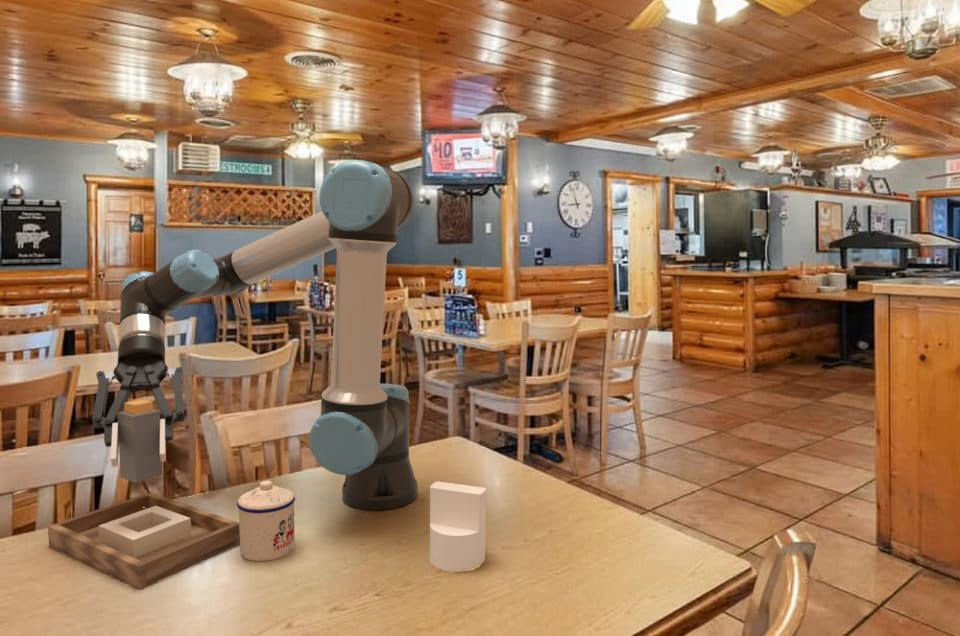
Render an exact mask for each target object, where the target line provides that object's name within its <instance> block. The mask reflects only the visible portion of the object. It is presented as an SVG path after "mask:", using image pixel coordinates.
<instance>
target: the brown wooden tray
mask: <svg viewBox="0 0 960 636" xmlns="http://www.w3.org/2000/svg"><path fill="white" fill-rule="evenodd" d="M153 506H158V507H161V508H164V509H166V510H169V511H172V512H175V513H178V514H180V515H183V516H186V517H189V518H191V535H190V536H188V537H185V538H183V539H180V540H178V541H175V542H173V543H171V544H168V545H166V546H163V547H161V548H158V549H156V550H153V551H151V552H149V553H146V554H144V555H141V556H139V557H136V558H133V557H130V556H128V555H126V554H124V553H121V552H119V551H117V550H115V549H112V548H110V547H108V546H106V545H103V544H101V543H100V542H99V525H102V524H105V523H108V522H110V521H113V520H116V519H119V518H122V517H125V516H128V515H130V514H133V513H136V512H139V511H142V510H145V509H148V508H151V507H153ZM143 507H145V508H143ZM47 533H48V534H47V535H48V547H50V548H52V549H54V550H57V551H58V552H61V553H63V554H64V555H67V556H69V557H71V558H73V559H75V560H77V561H79V562H82V563H83V564H85V565H87V566H90V567H92V568H93V569H96V570H98V571H100V572H102V573H104V574H106V575H108V576H110V577H112V578H115V579H116V580H118V581H121V582H123V583H125V584H127V585H129V586H131V587H133V588H136V589H137V590H140V591H141V590H142V589H144V588H146V587H149V586H150V585H153V584H156V583H157V581H158V582H160V581H162V580H165V579H166V578H168V576H169V577H171V576H173V575H175V574H177V573H179V572H181V571H184V570H185V569H188V568H190V567H192V566H195V565H197V564H199V563H202V562H204V561H206V560H208V559H210V558H212V557H214V556H216V555H219V554H221V553H223V552H225V551H228V550H230V549H232V548H234V547H237V546H240V530H239V521H237V520H233V519H230V518H227V517H224V516H222V515H218V514H215V513H212V512H209V511H207V510H203V509H201V508H198V507H195V506H192V505H189V504H187V503H183V502H180V501H179V500H174V499H171V498H169V497H166V496H163V495H160V494H156V493H154V492H151V491H150V492H148V493H145V494H142V495H139V496H135V497H132V498H129V499H126V500H124V501H120V502H117V503H115V504H110V505H108V506H105V507H103V508H98V509H95V510H93V511H89V512H87V513H84V514H83V513H82V514H80V515H78V516H75V517H71V518H69V519H65V520H63V521H60V522H56V523H53V524H50V525H48V526H47ZM159 580H160V581H159Z"/></svg>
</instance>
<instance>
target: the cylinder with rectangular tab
mask: <svg viewBox="0 0 960 636" xmlns="http://www.w3.org/2000/svg"><path fill="white" fill-rule="evenodd" d="M486 502H487V488H486V487H480V486H475V485H468V484H467V485H466V484H461V483H460V484H459V483H452V482H444V481H438V480H437V481H434V482H433V483H432V484H431V485H430V487H429V562H430V564H431V566H433V565H434V566H435V567H437V568H439V569H441V570H440V571H442V570H446V571H453V572H454V571H464V570H469V569H472V568H475V567H477V566H479V565H481V563H482V562H484V559H485V560H486V522H487V521H486V519H487V518H486V516H487V515H486V512H487V511H486V509H487V503H486ZM484 563H485V562H484ZM434 566H433V567H434ZM435 567H434V568H435ZM437 568H436V569H437ZM439 569H438V570H439ZM446 571H445V572H446ZM453 572H452V573H453Z"/></svg>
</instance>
